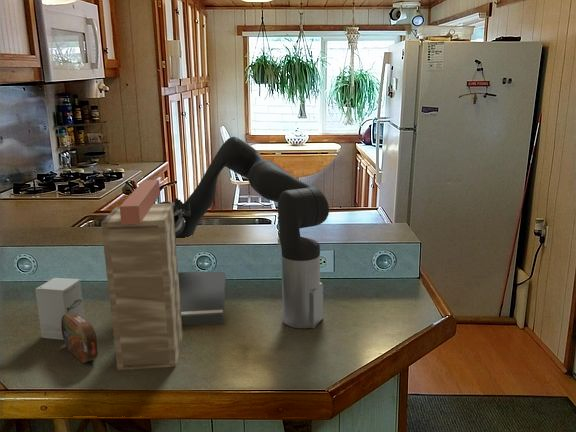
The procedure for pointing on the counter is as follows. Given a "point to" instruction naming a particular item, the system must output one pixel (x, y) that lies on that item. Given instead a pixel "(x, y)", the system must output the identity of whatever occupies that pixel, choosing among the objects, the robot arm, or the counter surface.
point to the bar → (139, 202)
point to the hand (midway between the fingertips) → (159, 202)
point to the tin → (79, 337)
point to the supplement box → (58, 304)
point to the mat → (202, 297)
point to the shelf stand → (143, 288)
